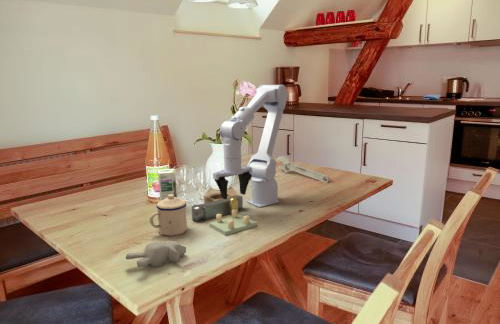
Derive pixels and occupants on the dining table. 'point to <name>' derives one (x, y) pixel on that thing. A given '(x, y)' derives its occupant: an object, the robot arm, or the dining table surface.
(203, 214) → the ball-knob grey rod
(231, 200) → the pin
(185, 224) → the teacup with lid
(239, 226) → the rack
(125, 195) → the dining table surface
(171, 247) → the bunny figurine
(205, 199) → the slot block
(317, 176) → the wrench
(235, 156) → the robot arm
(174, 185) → the syrup box
